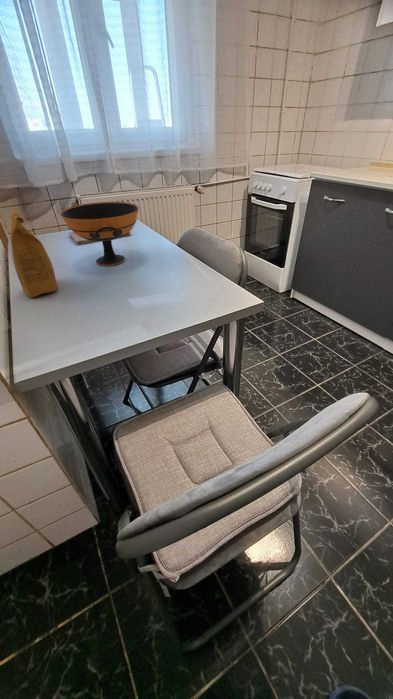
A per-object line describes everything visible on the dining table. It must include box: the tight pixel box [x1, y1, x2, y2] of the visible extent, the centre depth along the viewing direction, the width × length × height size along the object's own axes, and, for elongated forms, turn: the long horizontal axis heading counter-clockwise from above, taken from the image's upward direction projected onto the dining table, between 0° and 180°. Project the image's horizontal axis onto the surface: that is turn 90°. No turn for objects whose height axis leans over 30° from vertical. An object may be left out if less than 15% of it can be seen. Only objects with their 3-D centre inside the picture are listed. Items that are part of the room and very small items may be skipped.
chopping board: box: [68, 231, 131, 246], centre depth 136 cm, size 24×16×2 cm, turn 121°
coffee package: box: [8, 209, 58, 299], centre depth 85 cm, size 10×12×22 cm
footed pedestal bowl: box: [59, 201, 140, 267], centre depth 104 cm, size 36×26×18 cm
